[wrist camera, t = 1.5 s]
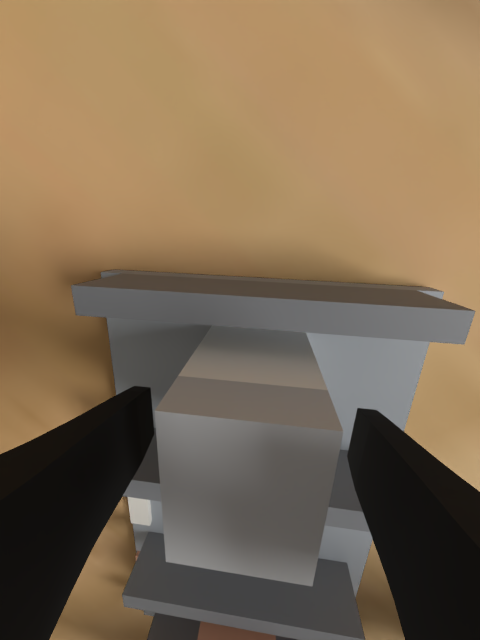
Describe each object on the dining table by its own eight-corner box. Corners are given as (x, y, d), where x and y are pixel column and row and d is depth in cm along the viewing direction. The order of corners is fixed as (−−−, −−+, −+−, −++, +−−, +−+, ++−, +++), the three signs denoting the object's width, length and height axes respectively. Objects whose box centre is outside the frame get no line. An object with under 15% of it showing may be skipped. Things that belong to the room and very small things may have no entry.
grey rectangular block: (305, 331, 11) (343, 431, 5) (293, 427, 12) (312, 586, 7) (213, 323, 11) (154, 410, 6) (212, 418, 13) (166, 562, 7)
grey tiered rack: (428, 287, 11) (515, 313, 7) (336, 630, 18) (353, 732, 15) (113, 269, 12) (42, 283, 8) (150, 596, 20) (121, 681, 16)
